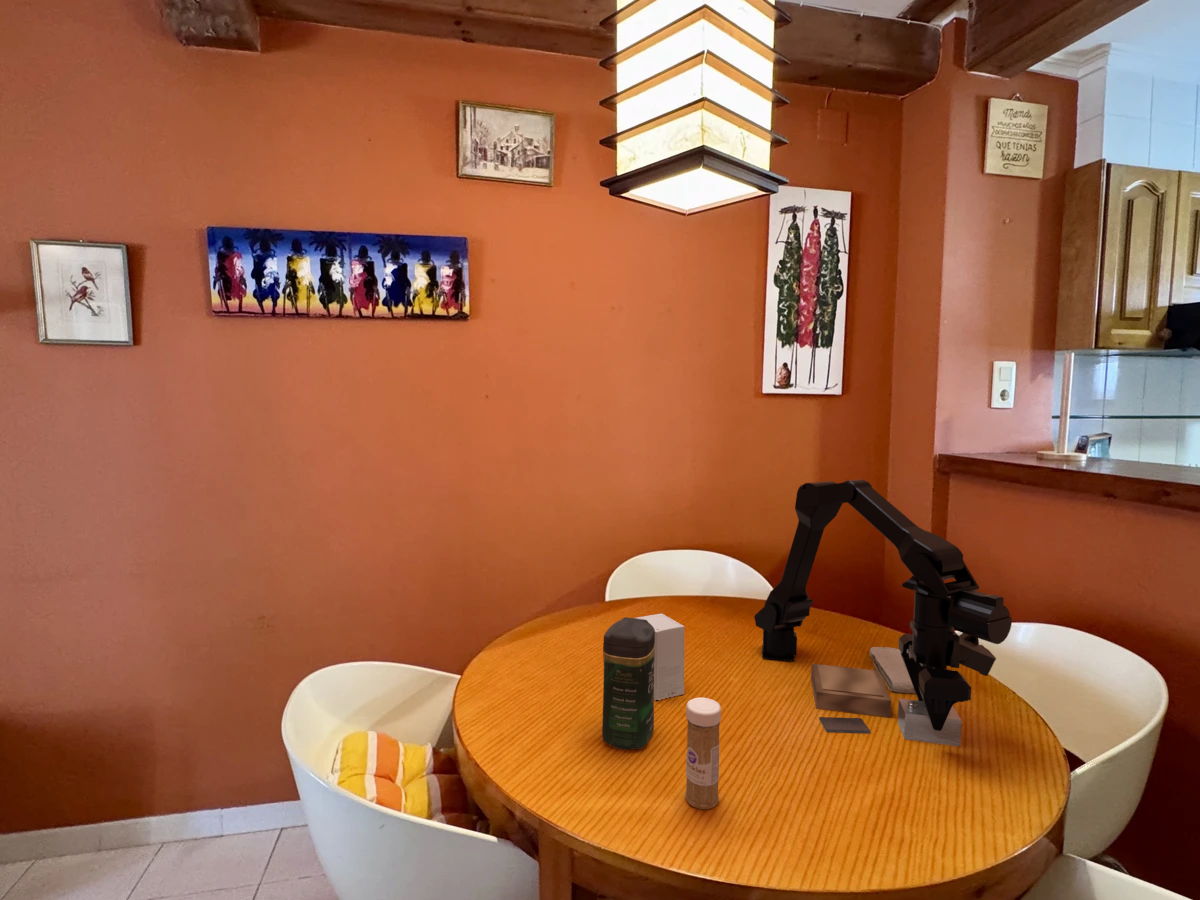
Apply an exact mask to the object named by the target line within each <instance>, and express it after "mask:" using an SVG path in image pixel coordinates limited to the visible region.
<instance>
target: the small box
mask: <svg viewBox="0 0 1200 900" xmlns="http://www.w3.org/2000/svg"><path fill="white" fill-rule="evenodd" d="M635 618H636V619H644V620H647V621H648V622H649V623H650V624H651V625H652V626H653V627H654V629H655V658H654V660H655V661H654V702H657V701H656V700H659V701H661V700H660V699H663V700H665V699H664V698H667V699H670V698H669V697H671V698H674V696H675V697H677V696H681V695H684V694H685V625H682V624H681V623H679V622H677V621H675V620H674V619H672V618H671V617H669V616H667V615H665V614H664V613H657V614H656V613H655V614H651V615H650V614H649V615H644V616H638V617H637V616H636V617H635Z"/></svg>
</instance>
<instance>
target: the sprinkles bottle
mask: <svg viewBox="0 0 1200 900" xmlns="http://www.w3.org/2000/svg"><path fill="white" fill-rule="evenodd" d="M685 709H686V711H685V715H686V716H685V717H686V721H687V730H686V731H687V732H686V738H687V739H686V741H687V742H686V755H685V757H686V759H685V760H686V761H685V775H686V779H685V780H686V787H685V793H684V795H685V799H686V802H688V804H689V805H690V806H692V807H694V808H695V809H699V810H709V809H712V808H714V807H716V806H717V804H718V803H719V801H720V799H719V798H720V797H719V779H720V724H721V719H722V710H721V709H722V708H721V705H720V703H719V702H717V701H716V700H714V699H711V698H708V697H695V698H691V699H690V700H688V702H687V703H686V708H685Z"/></svg>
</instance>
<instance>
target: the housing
mask: <svg viewBox="0 0 1200 900" xmlns="http://www.w3.org/2000/svg"><path fill="white" fill-rule="evenodd" d="M897 707H898V709H897V724H898V727H900V728H899V730H900V732H901V735H902V737H903V738H904V740H907V741H914V740H915V741H917V742H921V741H922V742H921V743H923V742H924V743H930V744H936V745H944V744H945V745H946V746H950V747H951V746H953V747H961V744H962V743H961V742H962V741H961V739H962V718H961V717H960V715H959V713H958V712H957V710H956V709H955V707H954V705H953V706H952V708H951V710H950V712H949V714H948V716H947V719H946V721H945V723H944V726H943V728H942V730H941V731H937V730H934V729H933V727H932V724H931V721H930V719H929V716H928V713H927V710H926V707H925V704H924V701H919V700H918V699H917V700H915V699H907V698H898V706H897ZM915 741H914V742H915ZM937 743H938V744H937ZM945 745H944V746H945Z"/></svg>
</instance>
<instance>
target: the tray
mask: <svg viewBox="0 0 1200 900" xmlns="http://www.w3.org/2000/svg"><path fill="white" fill-rule="evenodd" d="M810 666H811V667H810V680H811V681H810V682H811V686H812V693H813V696H814V703H815V709H816V710H817V709H819V710H827V711H833V712H834V711H835V712H842V713H850V714H852V713H853V714H859V715H860V714H861V715H866V716H874V717H876V716H877V717H885V718H891V714H892V713H891V710H892V700H891V697H890V695H889V692H888V690H887V688H886V686H885V685H886V684H885V682H884V680H883V678H882V677H881V675H880V674H879V671H878V670H877V669H869V668H865V669H864V668H857V667H848V666H847V667H846V666H838V665H831V664H830V665H828V664H819V663H811V665H810Z"/></svg>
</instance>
